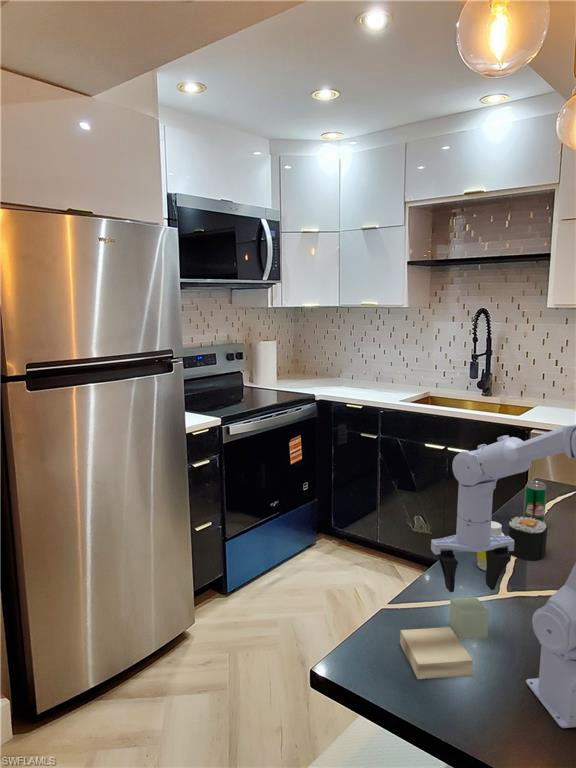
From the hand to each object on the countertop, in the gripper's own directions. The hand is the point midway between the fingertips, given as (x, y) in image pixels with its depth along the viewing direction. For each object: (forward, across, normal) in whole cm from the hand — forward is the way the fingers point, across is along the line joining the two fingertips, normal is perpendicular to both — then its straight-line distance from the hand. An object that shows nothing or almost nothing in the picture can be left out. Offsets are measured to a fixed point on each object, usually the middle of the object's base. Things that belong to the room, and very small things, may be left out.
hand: (470, 588), depth 97 cm
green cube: (+8, 0, 0) cm, 8 cm away
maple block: (+9, +9, +7) cm, 14 cm away
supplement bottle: (+8, -15, -22) cm, 28 cm away
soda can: (+8, -37, -42) cm, 57 cm away
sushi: (+8, -27, -28) cm, 40 cm away
